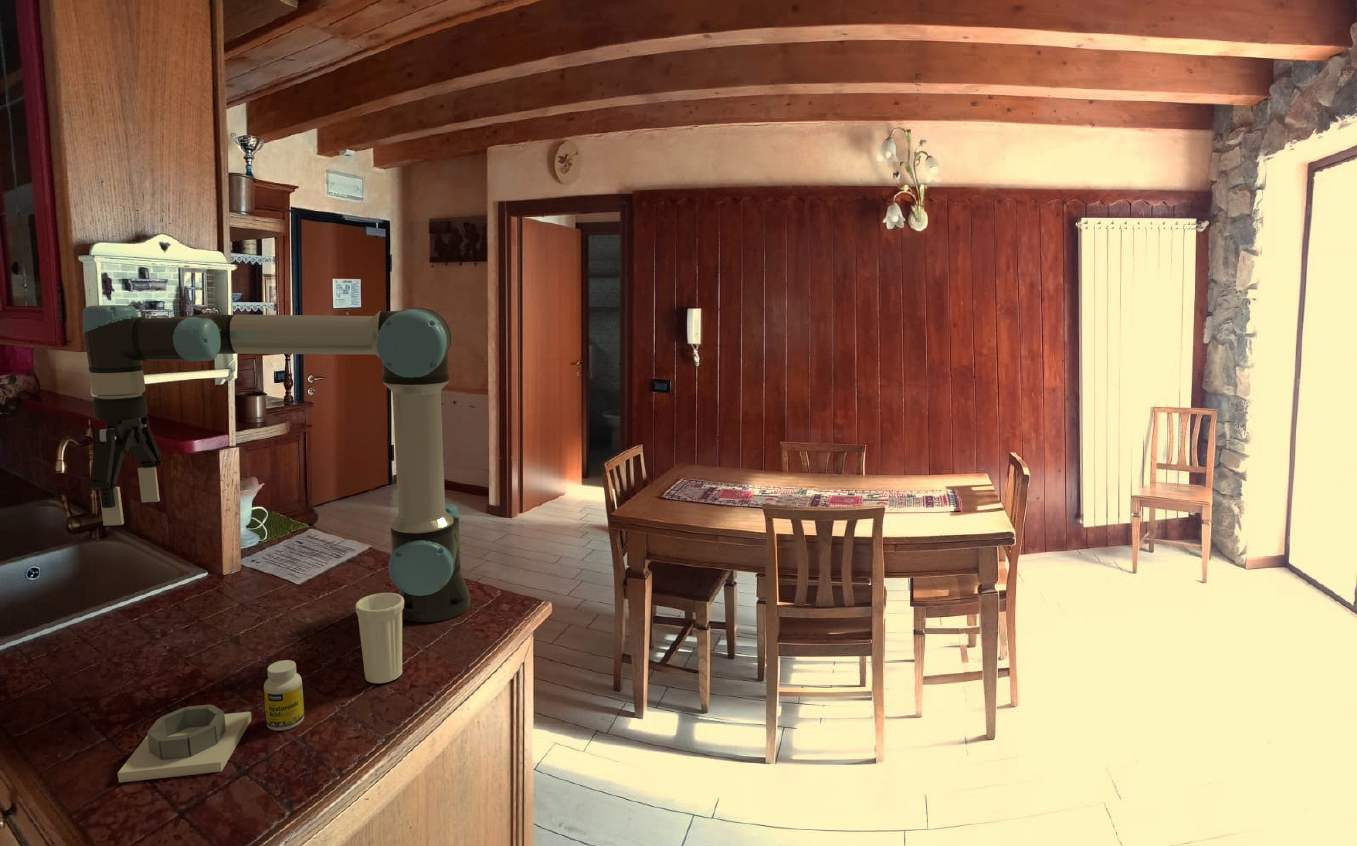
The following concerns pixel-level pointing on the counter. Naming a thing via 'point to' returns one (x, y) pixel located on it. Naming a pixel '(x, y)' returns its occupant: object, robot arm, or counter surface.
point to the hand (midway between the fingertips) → (133, 512)
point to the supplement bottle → (283, 696)
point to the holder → (186, 744)
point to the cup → (381, 635)
